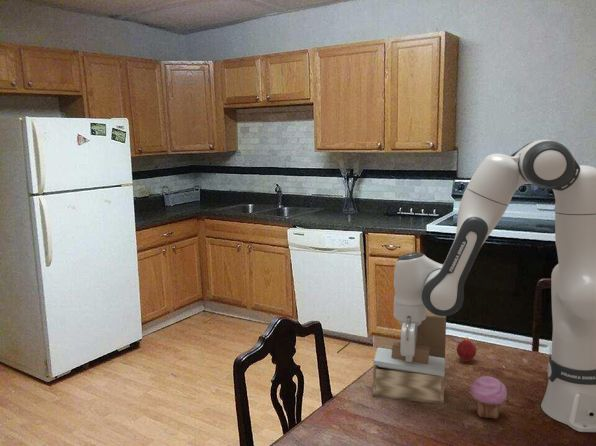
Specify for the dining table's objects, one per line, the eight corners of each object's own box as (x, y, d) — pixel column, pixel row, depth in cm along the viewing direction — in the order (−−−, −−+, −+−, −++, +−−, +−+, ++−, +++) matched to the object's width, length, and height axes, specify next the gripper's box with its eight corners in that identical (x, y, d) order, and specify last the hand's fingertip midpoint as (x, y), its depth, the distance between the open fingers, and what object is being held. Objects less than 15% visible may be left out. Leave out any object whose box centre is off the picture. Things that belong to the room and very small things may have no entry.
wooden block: (444, 380, 150) (446, 316, 147) (410, 378, 152) (411, 314, 149) (442, 365, 160) (443, 304, 157) (409, 363, 162) (410, 303, 159)
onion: (478, 365, 160) (479, 341, 158) (459, 365, 160) (460, 341, 158) (472, 357, 165) (473, 334, 164) (454, 357, 165) (455, 334, 164)
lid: (443, 365, 145) (446, 345, 143) (443, 380, 136) (446, 358, 135) (377, 354, 150) (378, 334, 148) (373, 367, 141) (375, 346, 140)
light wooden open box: (443, 388, 146) (444, 362, 144) (443, 404, 137) (444, 376, 136) (377, 381, 151) (377, 356, 150) (373, 396, 142) (373, 369, 141)
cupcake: (470, 421, 129) (471, 384, 127) (468, 403, 137) (469, 369, 136) (508, 425, 127) (509, 388, 125) (503, 407, 135) (505, 372, 133)
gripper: (420, 325, 129) (419, 376, 132) (423, 300, 149) (422, 344, 151) (395, 323, 131) (394, 373, 133) (401, 298, 150) (400, 342, 153)
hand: (409, 358), depth 142 cm, fingers closed on lid, 2 cm apart
